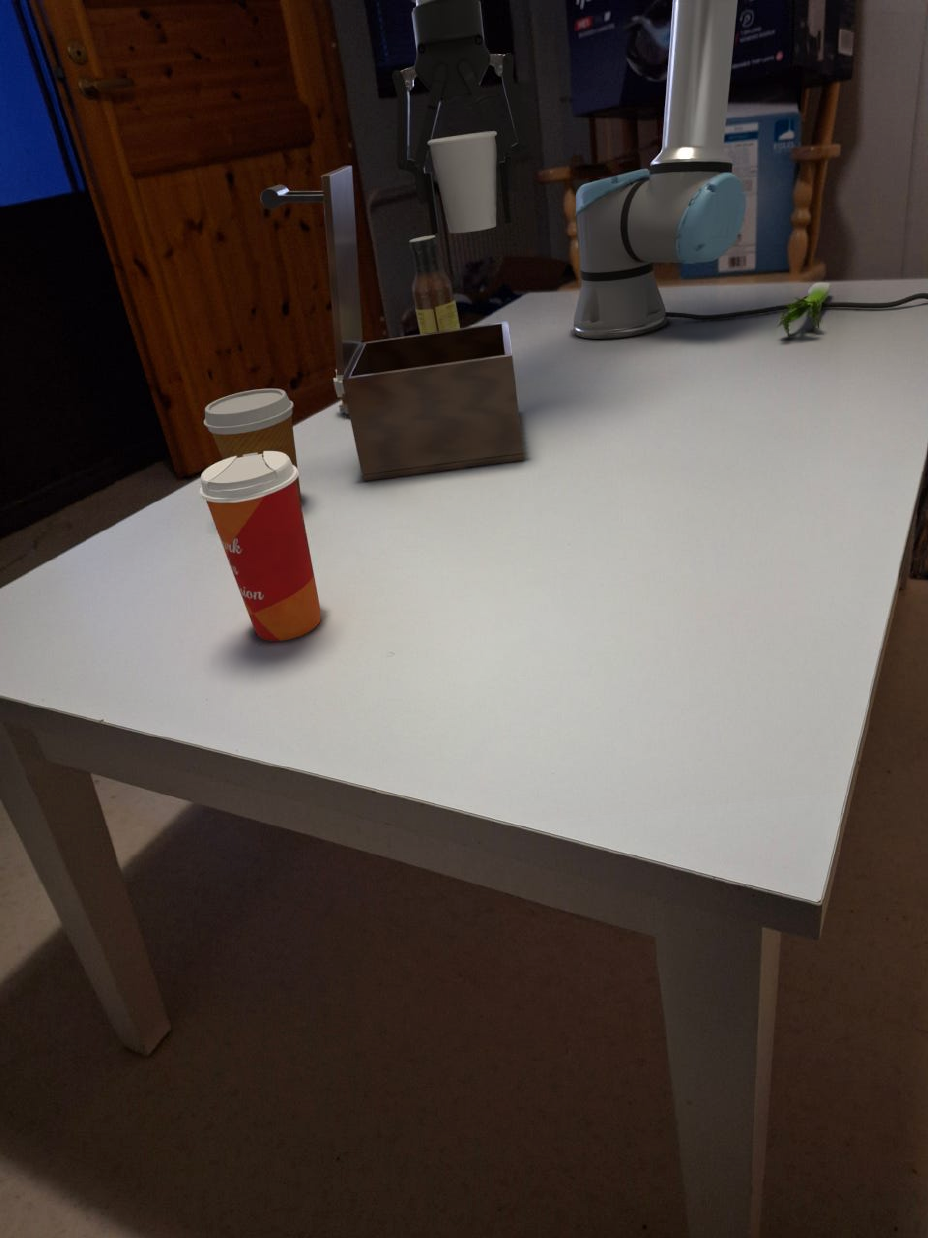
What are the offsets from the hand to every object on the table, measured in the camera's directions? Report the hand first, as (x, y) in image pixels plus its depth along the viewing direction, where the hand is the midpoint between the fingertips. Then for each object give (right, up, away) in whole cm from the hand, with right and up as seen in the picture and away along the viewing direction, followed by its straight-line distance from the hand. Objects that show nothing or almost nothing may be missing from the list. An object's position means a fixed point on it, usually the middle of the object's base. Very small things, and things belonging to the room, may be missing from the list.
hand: (471, 226), depth 108 cm
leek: (+52, -1, +30) cm, 60 cm away
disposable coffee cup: (-22, -35, -8) cm, 42 cm away
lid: (-14, -8, -8) cm, 18 cm away
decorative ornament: (-15, -17, +21) cm, 31 cm away
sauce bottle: (-4, -8, +34) cm, 35 cm away
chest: (-3, -26, +2) cm, 26 cm away
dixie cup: (0, 0, 0) cm, 0 cm away
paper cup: (-16, -48, -33) cm, 60 cm away
